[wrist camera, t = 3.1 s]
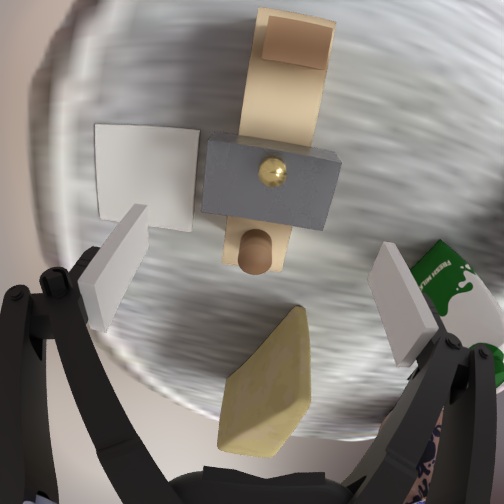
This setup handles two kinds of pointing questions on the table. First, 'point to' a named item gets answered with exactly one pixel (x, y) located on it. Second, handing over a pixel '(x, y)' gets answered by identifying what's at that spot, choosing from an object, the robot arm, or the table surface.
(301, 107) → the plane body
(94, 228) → the table surface
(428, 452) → the ceramic pitcher
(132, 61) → the table surface
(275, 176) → the lever cap
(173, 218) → the mat
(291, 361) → the cheese
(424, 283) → the milk carton
